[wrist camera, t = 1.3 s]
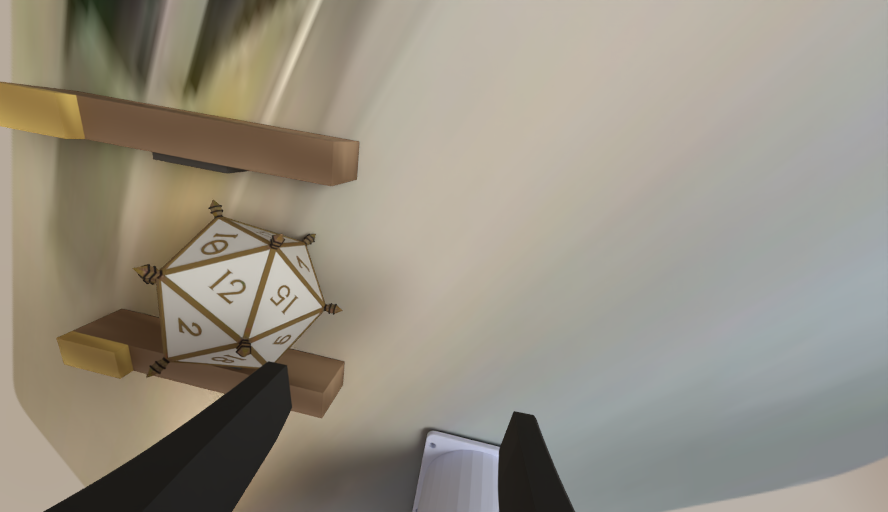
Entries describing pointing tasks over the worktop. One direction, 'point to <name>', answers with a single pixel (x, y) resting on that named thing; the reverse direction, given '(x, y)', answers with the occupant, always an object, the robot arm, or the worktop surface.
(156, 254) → the worktop surface
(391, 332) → the worktop surface
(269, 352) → the game die
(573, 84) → the worktop surface
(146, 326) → the twin wooden rails
